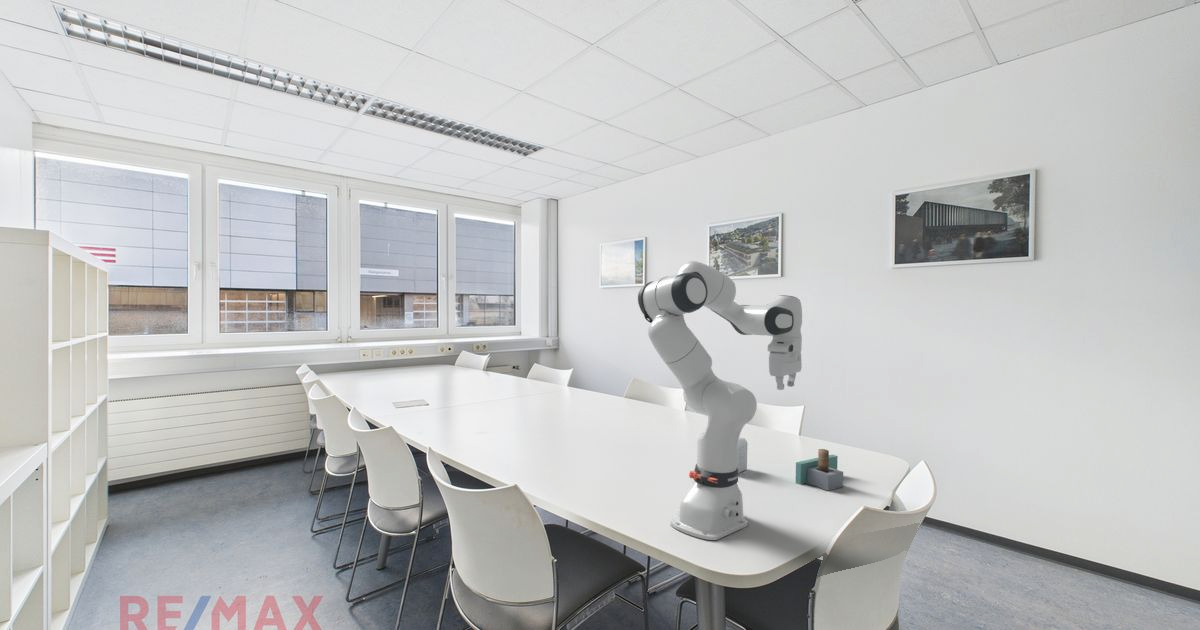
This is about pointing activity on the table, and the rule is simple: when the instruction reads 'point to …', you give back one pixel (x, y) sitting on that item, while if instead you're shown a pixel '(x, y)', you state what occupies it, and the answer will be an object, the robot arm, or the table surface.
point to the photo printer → (742, 454)
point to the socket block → (825, 478)
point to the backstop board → (803, 465)
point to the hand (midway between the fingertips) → (785, 387)
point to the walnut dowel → (823, 460)
